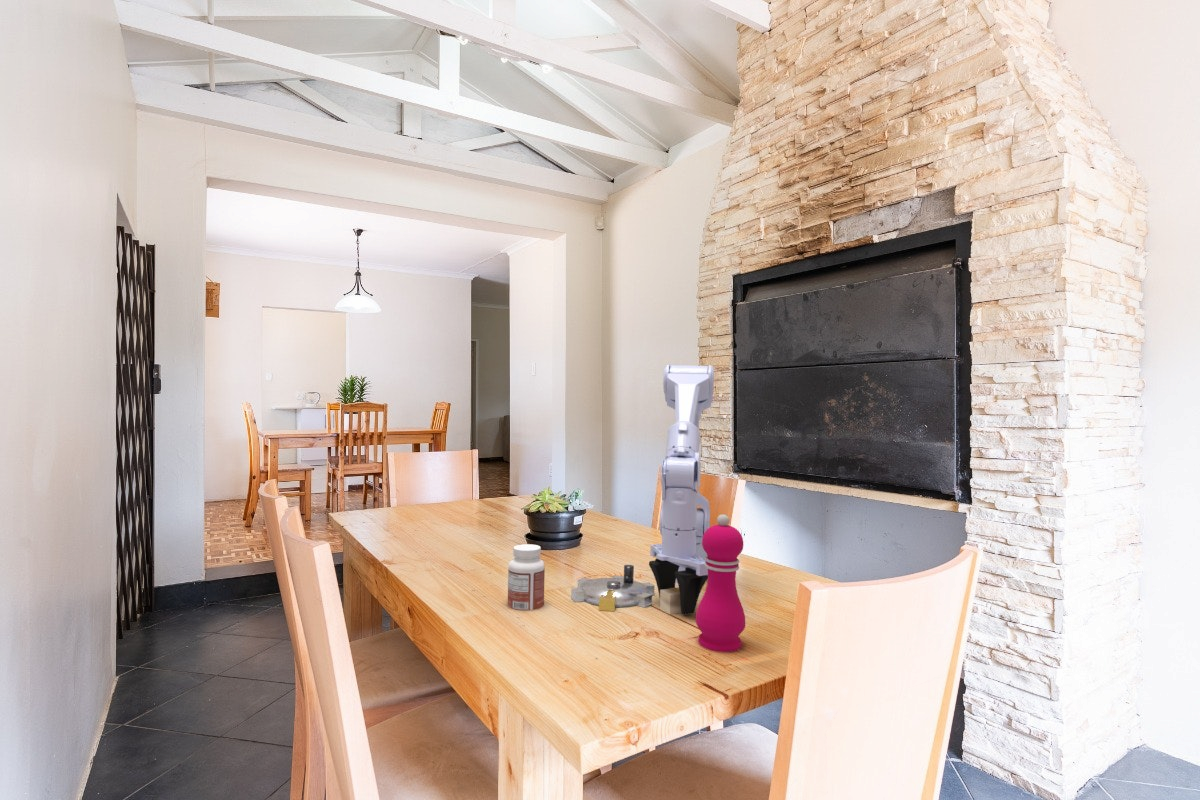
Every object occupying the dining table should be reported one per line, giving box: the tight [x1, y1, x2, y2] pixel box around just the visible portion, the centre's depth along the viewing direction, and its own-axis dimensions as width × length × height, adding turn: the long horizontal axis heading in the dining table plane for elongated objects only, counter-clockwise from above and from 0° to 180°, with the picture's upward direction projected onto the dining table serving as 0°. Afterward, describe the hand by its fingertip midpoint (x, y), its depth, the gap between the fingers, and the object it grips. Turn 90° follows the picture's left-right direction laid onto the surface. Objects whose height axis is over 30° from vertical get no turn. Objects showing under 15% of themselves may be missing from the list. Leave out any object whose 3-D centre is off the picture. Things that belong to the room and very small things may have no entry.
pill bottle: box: [507, 543, 546, 611], centre depth 108 cm, size 6×6×11 cm
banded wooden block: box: [659, 586, 682, 615], centre depth 107 cm, size 5×3×4 cm, turn 118°
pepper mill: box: [695, 513, 746, 653], centre depth 93 cm, size 7×7×20 cm
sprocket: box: [570, 564, 655, 612], centre depth 113 cm, size 16×14×5 cm
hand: (676, 607), depth 107 cm, fingers open, 6 cm apart
